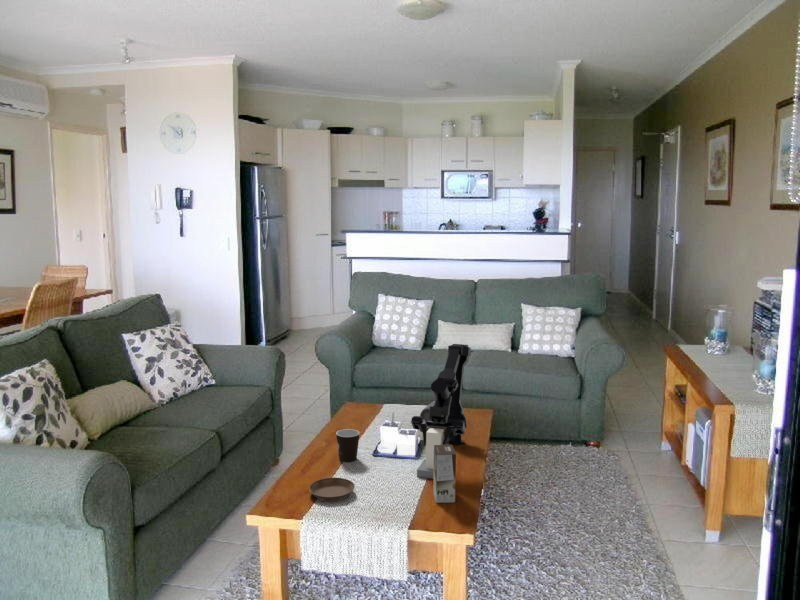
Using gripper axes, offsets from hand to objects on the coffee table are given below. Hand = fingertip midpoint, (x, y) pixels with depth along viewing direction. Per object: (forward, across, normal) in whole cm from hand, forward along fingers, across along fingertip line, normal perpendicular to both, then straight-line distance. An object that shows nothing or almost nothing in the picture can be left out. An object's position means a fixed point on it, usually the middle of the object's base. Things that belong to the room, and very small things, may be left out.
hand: (433, 447), depth 238 cm
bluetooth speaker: (-32, -11, +47) cm, 58 cm away
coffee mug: (+3, -34, +11) cm, 36 cm away
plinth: (+6, 0, +8) cm, 10 cm away
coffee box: (+19, +8, -4) cm, 21 cm away
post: (+4, 0, +6) cm, 8 cm away
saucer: (+25, -28, -11) cm, 39 cm away
